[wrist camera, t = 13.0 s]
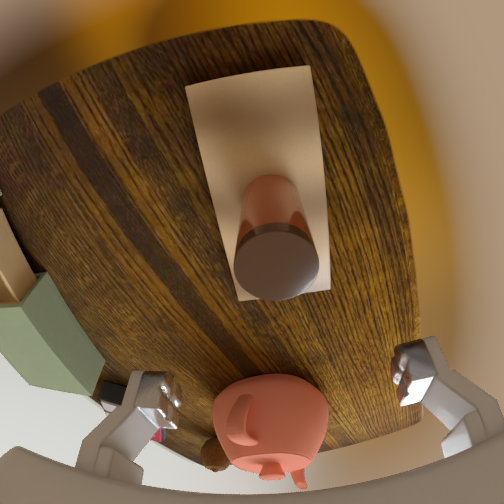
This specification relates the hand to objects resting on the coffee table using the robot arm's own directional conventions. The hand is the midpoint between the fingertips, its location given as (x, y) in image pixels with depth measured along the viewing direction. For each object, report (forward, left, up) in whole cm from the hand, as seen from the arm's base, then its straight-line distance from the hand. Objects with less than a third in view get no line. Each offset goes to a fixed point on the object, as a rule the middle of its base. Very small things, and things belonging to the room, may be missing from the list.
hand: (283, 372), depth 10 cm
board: (0, 0, -17) cm, 17 cm away
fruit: (+48, -17, -18) cm, 54 cm away
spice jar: (+1, 0, -16) cm, 16 cm away
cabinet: (+13, -35, -17) cm, 41 cm away
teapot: (+33, -4, -18) cm, 38 cm away
